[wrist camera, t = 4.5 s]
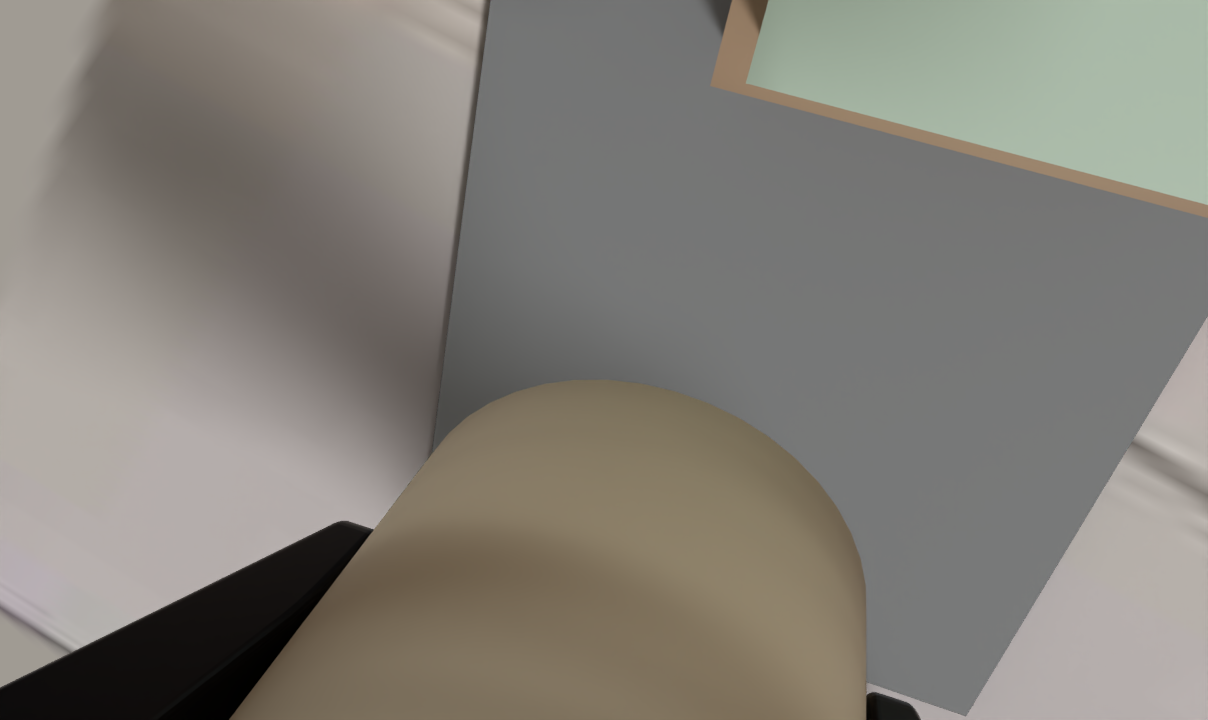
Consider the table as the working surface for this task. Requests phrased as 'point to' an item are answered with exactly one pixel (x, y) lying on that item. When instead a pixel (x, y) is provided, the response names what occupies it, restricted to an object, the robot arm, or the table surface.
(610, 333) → the rubber mat
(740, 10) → the walnut base block
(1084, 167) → the sage top block
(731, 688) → the maple cylinder
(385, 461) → the table surface
